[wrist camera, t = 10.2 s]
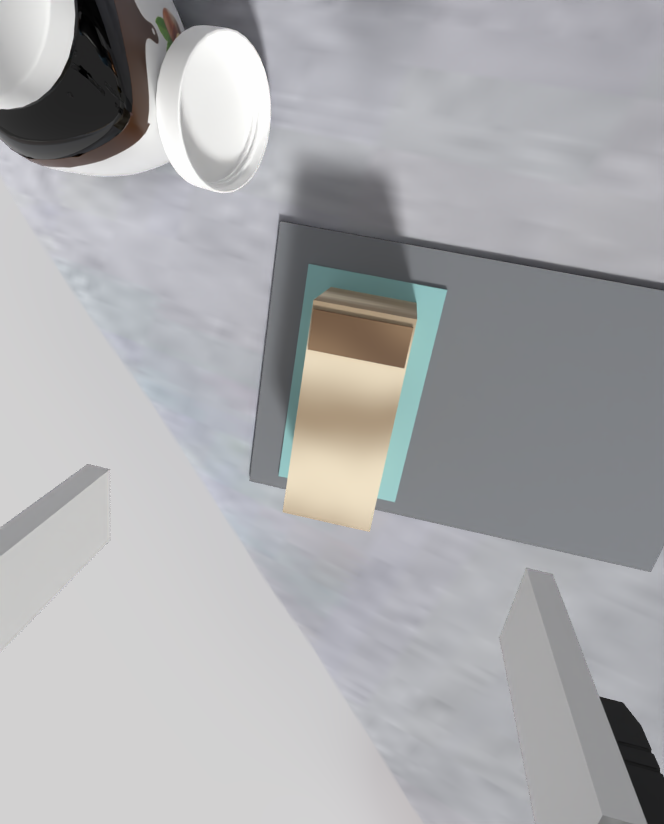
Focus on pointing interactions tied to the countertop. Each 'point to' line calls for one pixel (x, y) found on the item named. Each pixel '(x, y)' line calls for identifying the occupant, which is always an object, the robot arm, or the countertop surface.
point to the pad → (416, 370)
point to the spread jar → (131, 91)
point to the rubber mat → (505, 397)
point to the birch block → (348, 405)
